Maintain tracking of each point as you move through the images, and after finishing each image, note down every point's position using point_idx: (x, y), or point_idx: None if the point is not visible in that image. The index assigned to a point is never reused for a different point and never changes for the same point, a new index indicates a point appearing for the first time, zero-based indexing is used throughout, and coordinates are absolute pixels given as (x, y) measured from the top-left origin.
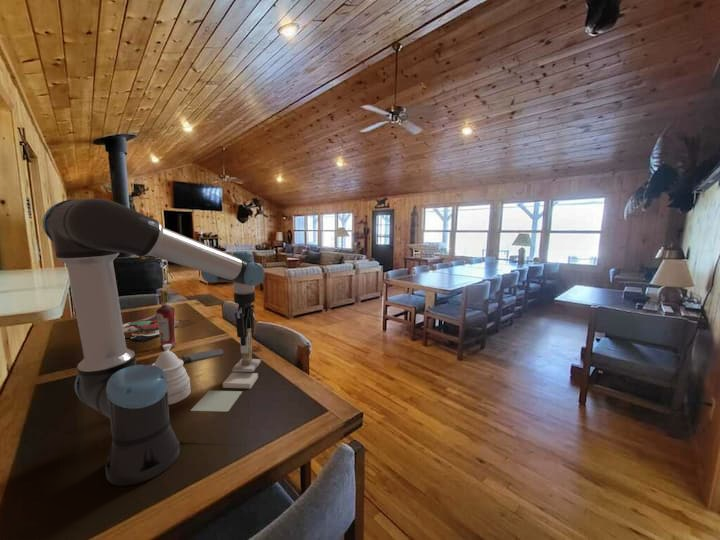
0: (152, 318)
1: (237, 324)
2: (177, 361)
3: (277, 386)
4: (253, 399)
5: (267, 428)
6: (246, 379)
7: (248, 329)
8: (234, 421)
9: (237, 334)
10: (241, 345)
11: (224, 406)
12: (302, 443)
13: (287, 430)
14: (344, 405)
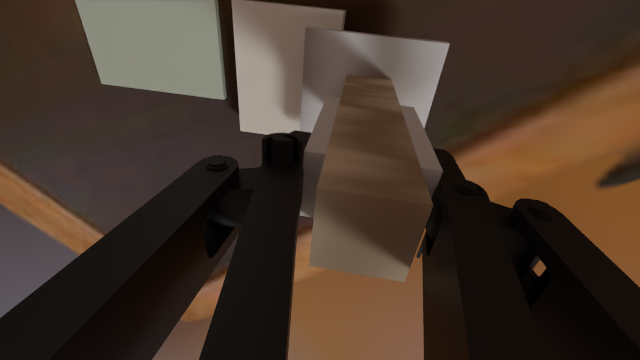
0: None
1: (41, 309)
2: None
3: None
4: (195, 143)
5: (93, 195)
6: (273, 107)
7: (367, 262)
8: (82, 113)
9: (184, 176)
10: (293, 133)
11: (120, 61)
12: (82, 251)
13: (103, 230)
14: (210, 315)
